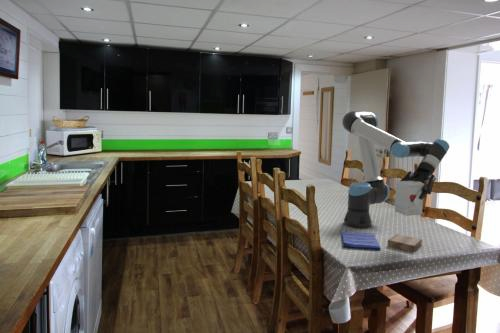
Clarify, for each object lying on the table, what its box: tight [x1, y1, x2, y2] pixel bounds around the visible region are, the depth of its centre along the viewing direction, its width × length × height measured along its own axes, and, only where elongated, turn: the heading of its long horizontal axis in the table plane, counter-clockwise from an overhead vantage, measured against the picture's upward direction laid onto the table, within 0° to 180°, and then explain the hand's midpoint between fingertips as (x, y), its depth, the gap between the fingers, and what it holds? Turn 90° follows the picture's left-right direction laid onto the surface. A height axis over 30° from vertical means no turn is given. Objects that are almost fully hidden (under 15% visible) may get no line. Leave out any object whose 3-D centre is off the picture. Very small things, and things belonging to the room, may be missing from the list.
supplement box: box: [394, 180, 424, 217], centre depth 183 cm, size 9×9×15 cm
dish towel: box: [340, 229, 382, 251], centre depth 189 cm, size 17×24×3 cm
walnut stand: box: [387, 233, 423, 253], centre depth 183 cm, size 12×12×3 cm
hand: (404, 201), depth 181 cm, fingers closed on supplement box, 10 cm apart
